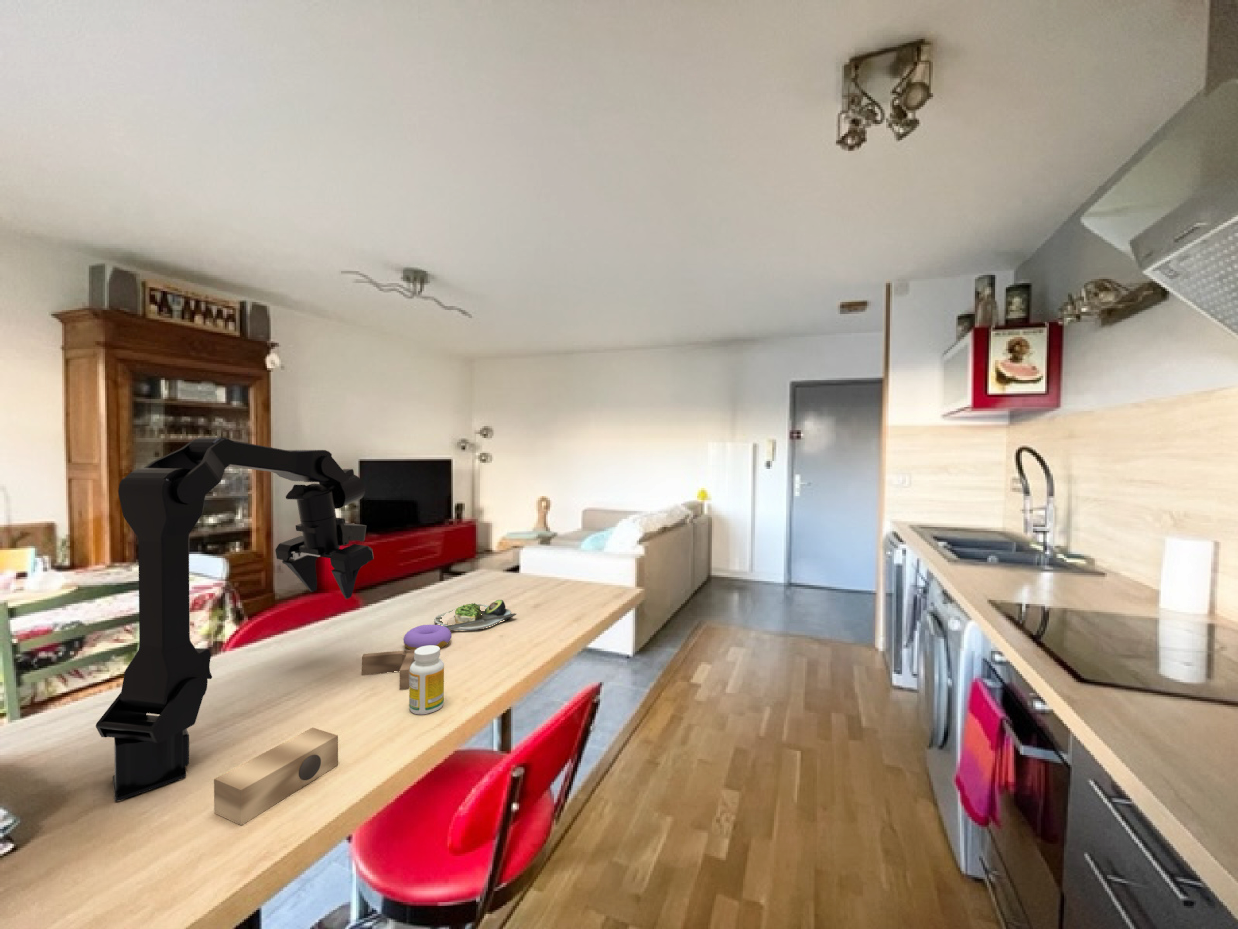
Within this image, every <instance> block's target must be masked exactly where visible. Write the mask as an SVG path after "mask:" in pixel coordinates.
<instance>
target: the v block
mask: <svg viewBox="0 0 1238 929" xmlns="http://www.w3.org/2000/svg"><path fill="white" fill-rule="evenodd" d="M415 650H416V649H414V650H409V649H405V650H394V651H393V650H392V651H383V652H382V651H381V652H371V653H370V652H369V653H363V654H362V656H361V676H369V674H370V675H379V674H380V673H381V674H388V673H387V672H392V673H395V672H394V671H400V672H399V690H400V691H403V690H409V673H410V666H411V664H412V663H413V662H415V660H414V651H415Z"/></svg>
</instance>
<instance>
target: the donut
mask: <svg viewBox="0 0 1238 929" xmlns="http://www.w3.org/2000/svg"><path fill="white" fill-rule="evenodd" d="M451 639H452V632H451V630H449V629H448V628H446V627H444V626H441V625H437V624H423V625H417V626H415V627H413V628H411V629H410V630H408V631H407V632H406V633H405V634H404V637H403V639H402V640H403V644H404V647H406V649H407V650H409V649H410V650H414V649H417V648H419V647H422V646H428V645H435V646H438V647H439V648H440V649H442V648H444V647H446V646H447V645H448V644H450V641H451ZM441 647H442V648H441Z"/></svg>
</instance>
